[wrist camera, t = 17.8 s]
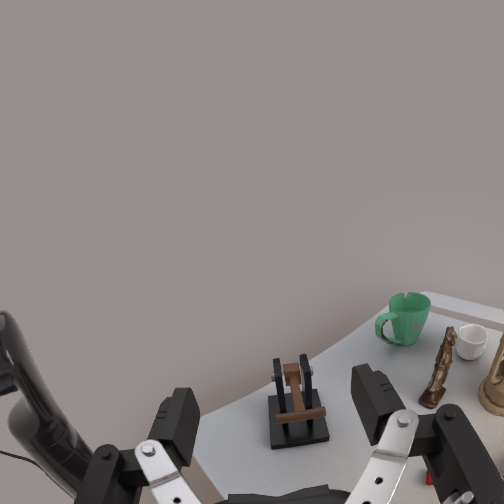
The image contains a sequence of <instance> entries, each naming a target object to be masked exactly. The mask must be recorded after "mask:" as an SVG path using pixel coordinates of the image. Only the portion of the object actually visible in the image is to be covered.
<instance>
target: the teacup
mask: <svg viewBox="0 0 504 504" xmlns="http://www.w3.org/2000/svg"><path fill="white" fill-rule="evenodd" d="M488 338H489V333H488V331H487V330H486V329H485V328H484V327H482V326H480V325H477V324H466V325H462V327H461V328H460V329H459V331H458V335H457V341H456V349H457V352H458V354H459V356H460V357H462V358H463V359H465V360H474V359H476V358H478V357H479V356H480V355H481V354H482V353H483V351H484V349H485V347H486V344H487V341H488Z"/></svg>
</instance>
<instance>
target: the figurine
mask: <svg viewBox="0 0 504 504" xmlns="http://www.w3.org/2000/svg"><path fill="white" fill-rule="evenodd" d="M456 339H457V335H456V332H455V331H454V327H450V328H449V327H447V329H446V334H445V337H444V341H443V343H442V345H441V346H440V350H439V353H438V355H437V357H436V360H435V361H436V364H435V369H434V371H433V374H432V379H431V381H430V382H429V385H428V387H427V389H426V390H425V391H424V393H423V394H422V396H421V397H420V398H419V403H420V404H421V405H423V406H425V407H426V408H429V409H433V408H435V407H436V406H437V404H438V403H439V401H440V399H441V398H442V396H443V394H444V393H445V391H446V389H445V388H444V387H443V386H442V384H444V382H445V380H446V377H447V374H448V370H449V367H450V364H451V363H452V348H451V346H454V344H455V340H456Z"/></svg>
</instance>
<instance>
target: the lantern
mask: <svg viewBox="0 0 504 504" xmlns="http://www.w3.org/2000/svg"><path fill="white" fill-rule="evenodd" d="M503 355H504V333H503V335H502V338H501V340H500V344H499V347H498V350H497V353H496V355H495V358H494V361H493V363H492V366H491V369H490V372H489V375H488V376H487V377H486V378H485V379H484V380H483V381H482V383H481V385H480V387H479V392H478V396H479V399H480V402H481V404H482V405H483V406H484V408H485V409H486V410H487V411H489V412H491V413H492V414H494V415H499V416H504V360H502V361H501V359H502V357H503Z"/></svg>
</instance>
